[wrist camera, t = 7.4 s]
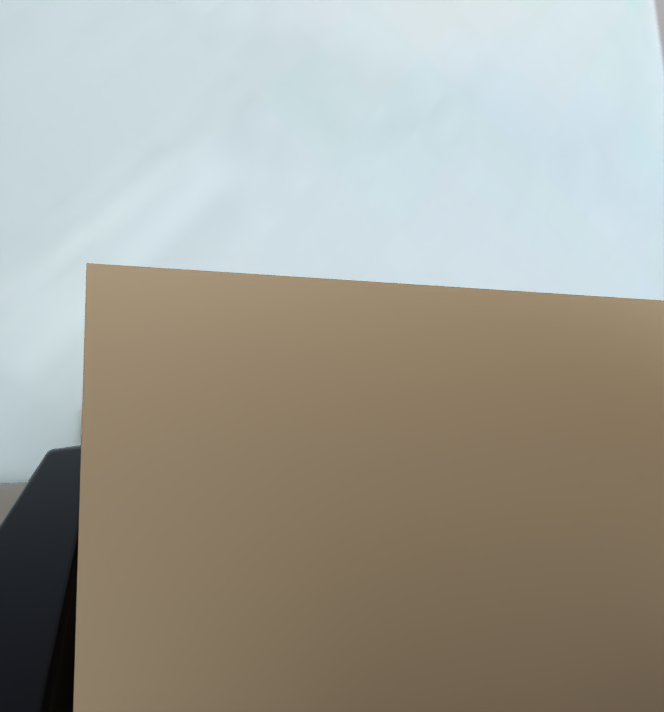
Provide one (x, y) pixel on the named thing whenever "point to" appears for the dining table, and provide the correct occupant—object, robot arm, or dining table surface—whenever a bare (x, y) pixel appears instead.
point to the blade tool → (366, 497)
